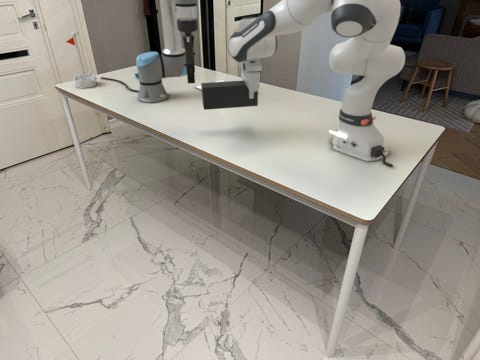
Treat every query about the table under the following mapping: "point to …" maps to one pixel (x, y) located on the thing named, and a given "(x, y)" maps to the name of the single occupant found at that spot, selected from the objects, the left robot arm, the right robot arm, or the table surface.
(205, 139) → the table surface
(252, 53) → the right robot arm
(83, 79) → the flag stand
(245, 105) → the box
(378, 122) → the table surface
